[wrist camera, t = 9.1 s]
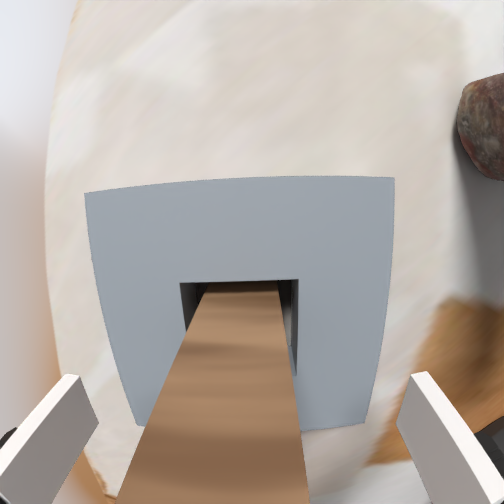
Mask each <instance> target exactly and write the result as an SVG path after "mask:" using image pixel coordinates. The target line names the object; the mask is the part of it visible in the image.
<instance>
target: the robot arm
mask: <svg viewBox="0 0 504 504" xmlns="http://www.w3.org/2000/svg"><path fill="white" fill-rule="evenodd" d="M98 424H99V422H98V420H97V418H96V415H95V413H94V411H93V408H92V406H91V404H90V401H89V399H88V396H87V394H86V391H85V389H84V386H83V384H82V381H81V378H80V376H77V375H71V374H65V375H64V376H63V377H62V379H61V380H60V381H59V382H58V383H57V384H56V385H55V386H54V387H53V389H52V390H51V391H50V392H49V393H48V394H47V395H46V397H45V398H44V399H43V400H42V401H41V402H40V403H39V404H38V406H37V407H36V408H35V409H34V410H33V411H32V412H31V413H30V415H29V416H28V417H27V418H26V419H25V421H24V422H23V423H22V424H21V425H20V426H19V427H18V428H16V427H15V428H14V429H12V430H11V431H9V432H7V433H6V434H5V435H4V436H3V437H2V438H1V440H0V504H52V502H53V500H54V498H55V497H56V495H57V493H58V491H59V490H60V488H61V486H62V484H63V483H64V481H65V479H66V477H67V476H68V474H69V472H70V471H71V469H72V467H73V465H74V464H75V462H76V460H77V458H78V457H79V455H80V454H81V452H82V450H83V449H84V447H85V445H86V444H87V442H88V440H89V439H90V437H91V435H92V434H93V432H94V430H95V429H96V427H97V425H98ZM396 426H397V428H398V430H399V432H400V434H401V436H402V438H403V440H404V442H405V444H406V446H407V449H408V451H409V453H410V455H411V457H412V459H413V461H414V464H415V466H416V468H417V470H418V472H419V475H420V477H421V479H422V481H423V484H424V486H425V488H426V490H427V493H428V495H429V497H430V500H431V502H432V504H504V416H503V417H501V418H499V419H498V420H496V421H495V422H493V423H492V424H490V425H489V426H487V427H486V428H485V429H483V430H482V431H480V432H477V433H475V434H473V433H472V432H471V430H470V429H469V427H468V426H467V425H466V423H465V422H464V420H463V419H462V418H461V416H460V415H459V413H458V412H457V411H456V409H455V408H454V407H453V405H452V404H451V403H450V401H449V400H448V398H447V397H446V396H445V394H444V393H443V392H442V390H441V389H440V388H439V386H438V385H437V384H436V383H435V381H434V380H433V379H432V377H431V376H430V375H429V373H428V372H427V371H425V372H420V373H415V374H410V378H409V382H408V385H407V389H406V393H405V396H404V399H403V403H402V406H401V409H400V412H399V415H398V418H397V421H396Z"/></svg>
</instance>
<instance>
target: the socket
mask: <svg viewBox="0 0 504 504" xmlns="http://www.w3.org/2000/svg"><path fill="white" fill-rule="evenodd" d="M84 196H85V208H86V217H87V226H88V235H89V242H90V249H91V256H92V262H93V268H94V274H95V279H96V285H97V290H98V295H99V299H100V304H101V309H102V313H103V317H104V322H105V326H106V330H107V334H108V337H109V341H110V345H111V349H112V352H113V356H114V359H115V362H116V366H117V369H118V372H119V375H120V379H121V382H122V385H123V388H124V391H125V394H126V397H127V399H128V402H129V405H130V408H131V410H132V413H133V416H134V418H135V421H136V424H137V425H138V426H145V427H146V424H147V422H148V420H149V417H150V415H151V413H152V410H153V408H154V405H155V403H156V401H157V398H158V396H159V394H160V391H161V389H162V387H163V384H164V382H165V380H166V377H167V375H168V373H169V371H170V368H171V366H172V364H173V361H174V359H175V357H176V355H177V352H178V350H179V348H180V346H181V343H182V341H183V339H184V337H185V334H186V332H187V330H188V328H189V325H190V323H191V321H192V319H193V317H194V314H195V312H196V310H197V308H198V305H197V296H196V287H195V282H228V281H260V280H286V279H292V302H291V346H287V347H288V353H289V360H290V366H291V373H292V379H293V386H294V392H295V399H296V406H297V413H298V419H299V426H300V431H307V430H317V429H327V428H335V427H342V426H349V425H356V424H362V423H364V422H365V419H366V415H367V411H368V407H369V403H370V399H371V395H372V390H373V386H374V381H375V376H376V372H377V367H378V362H379V356H380V351H381V345H382V339H383V333H384V326H385V319H386V312H387V304H388V296H389V287H390V277H391V265H392V252H393V234H394V178H392V177H365V176H278V177H249V178H229V179H213V180H198V181H186V182H174V183H163V184H153V185H144V186H135V187H126V188H118V189H110V190H103V191H96V192H89V193H84Z"/></svg>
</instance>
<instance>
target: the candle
mask: <svg viewBox="0 0 504 504" xmlns="http://www.w3.org/2000/svg"><path fill="white" fill-rule="evenodd" d="M457 127H458V133H459V135H460V138H461V142H462V144H463V147H464V149H465V150H466V151H467V153H468V154H469V156H470V158H471V159H472V161H473V163H474V164H475V165H476V167H477V168H478V169H479V170H480V172H481V173H483V174H484V175H485V176H486V177H489V178H491V179H496V180H501V181H504V73H501V74H497V75H493V76H490V77H487V78H484V79H481V80H477V81H474V82H471V83H469V84H468V85H467V86H465V88H464V89H463V92H462V97H461V99H460V103H459V108H458V115H457Z"/></svg>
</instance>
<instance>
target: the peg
mask: <svg viewBox="0 0 504 504" xmlns="http://www.w3.org/2000/svg"><path fill="white" fill-rule="evenodd" d="M115 504H310V500H309V492H308V485H307V477H306V470H305V462H304V455H303V448H302V440H301V433H300V426H299V419H298V413H297V406H296V399H295V392H294V386H293V379H292V373H291V366H290V360H289V353H288V347H287V341H286V334H285V328H284V322H283V316H282V310H281V304H280V298H279V292H278V286H277V280H260V281H228V282H209V284H208V286H207V288H206V290H205V292H204V295H203V297H202V299H201V301H200V303H199V306H198V308H197V310H196V312H195V314H194V317H193V319H192V321H191V323H190V325H189V328H188V330H187V332H186V334H185V337H184V339H183V341H182V343H181V346H180V348H179V350H178V352H177V355H176V357H175V359H174V361H173V364H172V366H171V368H170V371H169V373H168V375H167V377H166V380H165V382H164V384H163V387H162V389H161V391H160V394H159V396H158V398H157V401H156V403H155V405H154V408H153V410H152V413H151V415H150V417H149V420H148V422H147V424H146V427H145V429H144V432H143V434H142V436H141V439H140V441H139V444H138V446H137V449H136V451H135V453H134V456H133V458H132V461H131V463H130V466H129V468H128V471H127V473H126V476H125V478H124V481H123V483H122V486H121V488H120V491H119V494H118V496H117V499H116V501H115Z"/></svg>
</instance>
